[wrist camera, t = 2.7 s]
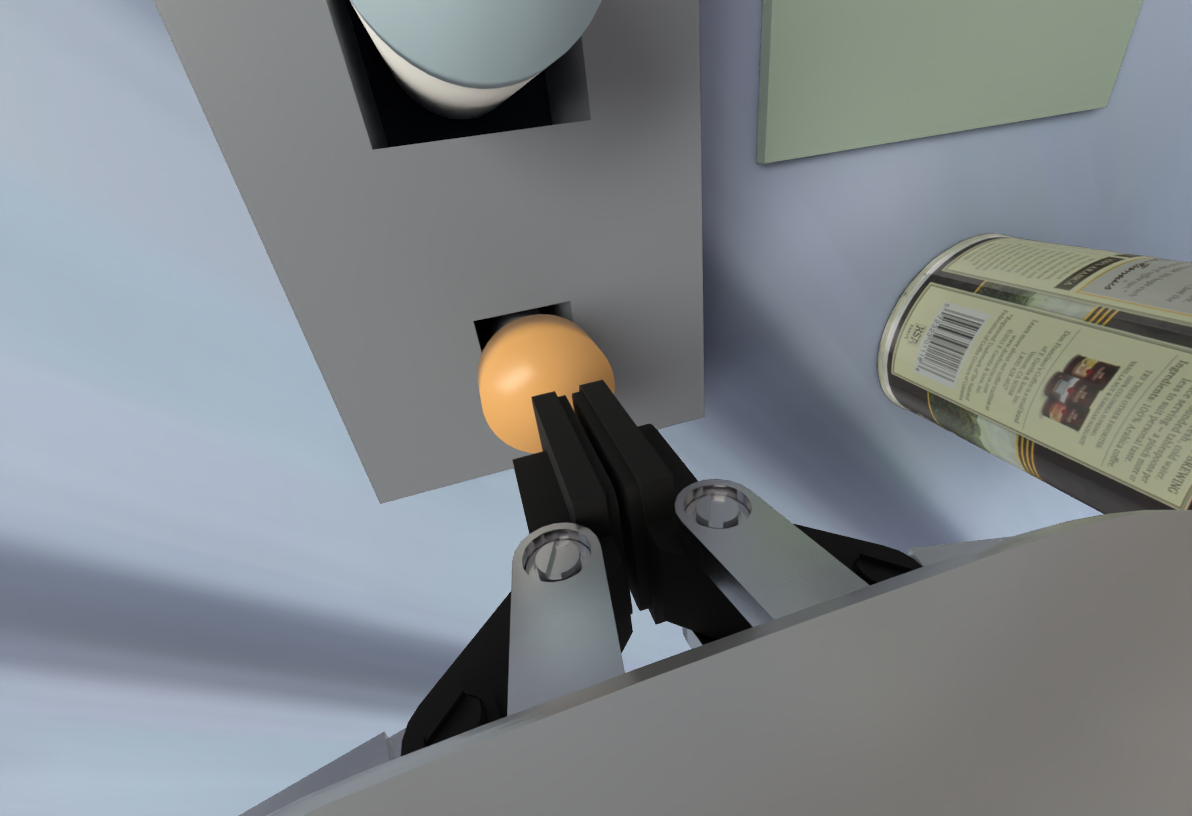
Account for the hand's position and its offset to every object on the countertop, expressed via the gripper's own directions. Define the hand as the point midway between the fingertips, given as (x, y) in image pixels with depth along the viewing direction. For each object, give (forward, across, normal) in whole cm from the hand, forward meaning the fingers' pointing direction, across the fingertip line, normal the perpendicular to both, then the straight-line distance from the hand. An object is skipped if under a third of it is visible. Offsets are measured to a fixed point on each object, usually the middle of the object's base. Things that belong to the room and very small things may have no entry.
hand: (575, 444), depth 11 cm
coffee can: (+10, -24, +6) cm, 27 cm away
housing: (+10, 0, -5) cm, 11 cm away
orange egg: (+8, 0, 0) cm, 8 cm away
